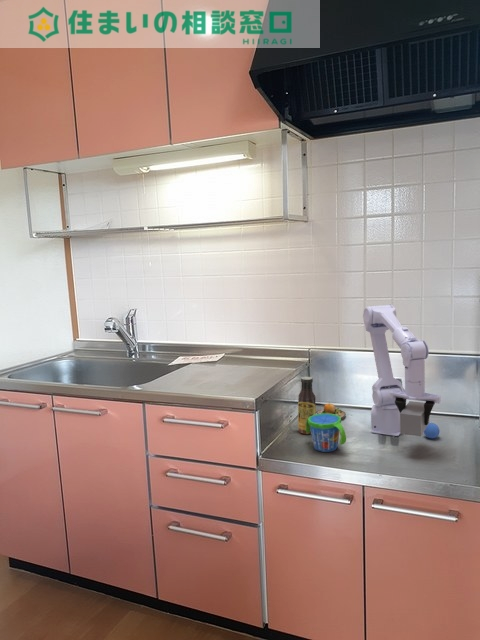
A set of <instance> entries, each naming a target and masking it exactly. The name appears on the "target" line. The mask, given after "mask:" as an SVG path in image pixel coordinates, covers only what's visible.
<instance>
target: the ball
mask: <svg viewBox="0 0 480 640" xmlns="http://www.w3.org/2000/svg"><path fill="white" fill-rule="evenodd" d="M423 435H424V436H425V437H427V438H428V439H431V440H432V439H436V438H438V437H439V436H440V428H439V426H438V424H436V423H432V422H429V424H428V426H427V427H426V429H425V431H424V432H423Z"/></svg>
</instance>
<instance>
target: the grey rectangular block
mask: <svg viewBox="0 0 480 640" xmlns="http://www.w3.org/2000/svg"><path fill="white" fill-rule="evenodd" d="M424 404H425V402H424V401H415V400H409V401H408V403H406V406H405V408H404V409H403V410H402V411H401V413H400V435H409V436H414V437H422V435H424V431H425V429H426V427H427V426H428V425H425V423H424V421H425V411H424ZM429 423H430V420H429V421H428V424H429Z"/></svg>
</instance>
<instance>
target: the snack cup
mask: <svg viewBox="0 0 480 640" xmlns="http://www.w3.org/2000/svg"><path fill="white" fill-rule="evenodd" d="M305 430H306V433H310V432H311V434H310V435H311V439H312V443H313V447H314V450H316V451H318V452H322V453H328V452H330V453H331V452H334V451H336V449H337V448H338V446H339V445H338V444H340V445H341V446H342V445H344V444H346V442H347V435H346V432H345V428H344V426H343V424H342V421H341V418H340V417H339V416H338V415H335V414H328V413H322V414H315V415H312V416H310V417H309V418H308V419H307V421H306V428H305ZM339 436H340V440H339Z"/></svg>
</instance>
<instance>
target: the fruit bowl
mask: <svg viewBox="0 0 480 640" xmlns="http://www.w3.org/2000/svg"><path fill="white" fill-rule="evenodd" d="M322 413H328V414H335V415H338V416H339V417H340V418H341V420H342V421H344V420H345V419H346V417H347V416H346V412H345V411H344V410H342V409H339V407H337V408H336V406H335V404H333V403H330V402H328V403H326V404H325V405H324V406H323V409H320V410H317V411H316V414H322Z"/></svg>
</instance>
